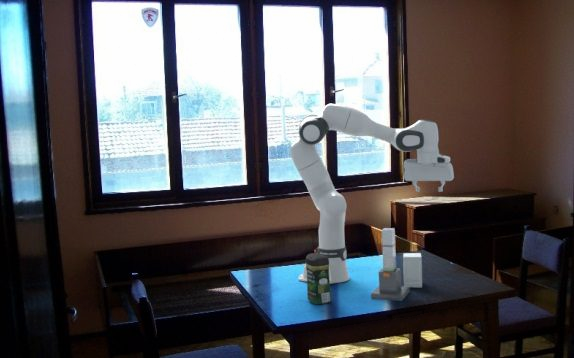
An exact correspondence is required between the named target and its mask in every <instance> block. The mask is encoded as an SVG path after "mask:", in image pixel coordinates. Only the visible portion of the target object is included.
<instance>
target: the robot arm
mask: <svg viewBox="0 0 574 358" xmlns="http://www.w3.org/2000/svg"><path fill="white" fill-rule="evenodd" d="M298 129H299V130H298V135H299V138H298V139H297V140H295V141H294V142H293V143H292V144H291V145H290V148H289V152H290V156H291V160H292V162H293V164H294V166H295V168H296V170H297V171H298V174H299V176H300V178H301V179H302V181H303V183H304V184H305V187H306V189H307V191H308V194H309V195H310V198H311V200H312V202H313V204H314V206H315V207H316V209H317V210H318V211H319V224H318V225H319V226H318V246H317V247H316V248H315V249H313V251H314V253H318V254H321V255H324V256H326V257H328V259H329V282H330V285H331V284H338V283H344V282H347V281H349V280H350V279H351V276H350V274H349V270H348V265H347V248H346V247H347V246H346V245H345V244H346V242H345V222H346V215H347V214H346V211H347V208H348V207H347V202H346V199H345V197H344V195H342V194H341V193H339V192H338V191H337V190H336V188H335V186H334V184H333V181H332V179H331V176H330V174H329V171H328V169H327V168H326V166H325V164H324V162H323V160H322V158H321V157H320V155H319V153H318V151H317V149H316V145H317V144H319V143H320V142H322V141H323V139H324V138H325V136H326V135H327V134H328V133H329V131H335V132H338V133H341V134H344V135H345V134H346V135H348V136H351V137H371V138H375V139H377V140H381V141H384V142H386V143H388V144H390V145H391V146H392V147H393V148H394V149H396V150H398V151H400V152H405V153H407V152H409V153H410V152H412V151H415V150H416V155H417V157H416V158H411V159H410V158H407V159H406V160H404V162H403V168H404V171H403V172H404V175H403V178H404V180H405V181H406V182H412V185H413V186H414V188H415V192H418V193H420V191H421V187H420V186H418V185H417V183H418V182H437V181H438V182H440V184H441V186H438V192H439V193H440V192H442V193H443V190H444V189H443V187H444V186H445V185H446V182H450V181H451V182H452V181H453V180H454V178H455V175H454V174H455V173H454V167H453V165H452V163H451V157H450V156H447V155H444V154H440V151H439V150H440V149H439V138H440V137H439V129H438V125H437V123H436V122H435V121H434V120H430V119H429V120H427V119H419V120H417V121H416V122H415V123H413V124H412V125H409V126H407V127H399V128H395V127H393V128H392V127H390V126H387V125H384V124H382V123H379V122H376V121H374V120H373V119H371V118H370V117H369V116H368V115H367V114H366V113H364V112H362V111H361V110H358V109H356V108H353V107H350V106H347V105H342V104H338V103H328V104H326V105H324V107H323V108H322V110H321V112H320V114H319V115H317V114H316V115H315V114H311V115H307V116H305V117H304V118H303V119H302V120H301V122H300V124H299V128H298ZM302 272H303V273H300V275H299V276H298V281H300V282H306V283H307V269H306V263H305V265H304V267H303V271H302Z"/></svg>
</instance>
